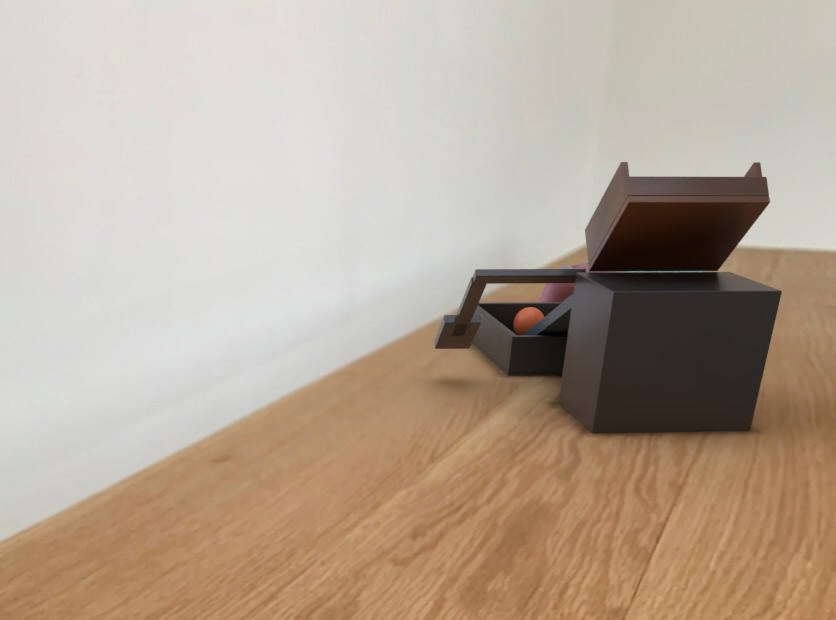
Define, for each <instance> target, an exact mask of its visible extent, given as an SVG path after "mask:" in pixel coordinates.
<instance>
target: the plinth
mask: <svg viewBox="0 0 836 620" xmlns="http://www.w3.org/2000/svg"><path fill="white" fill-rule="evenodd" d="M782 292H783V291H782V290H781V289H778V288H775V287H772V286H769V285H767V284H764V283H761V282H759V281H756V280H754V279H750V278H748V277H745V276H742V275H740V274H737V273H734V272H732V271H708V272H577V273H576V278H575V285H574V293H573V300H572V308H571V315H570V322H569V330H568V337H567V344H566V352H565V359H564V366H563V374H562V375H561V382H560V388H559V389H560V390H559V397H558V405H559V406H560V407H561V408H562V409H563V410H565V412H567V413H568V414H569V415H570V416H572V418H574V419H575V420H576V422H579V424H581V426H582V427H584V428H585V429H586V430H587V431H589V433H591V434H593V435H595V434H597V435H598V434H654V433H655V434H657V433H659V434H660V433H661V434H663V433H666V434H667V433H723V432H724V433H727V432H728V433H729V432H731V433H732V432H751V430H752V425H753V420H754V415H755V412H756V407H757V404H758V403H757V402H758V398H759V394H760V389H761V386H762V380H763V377H764V372H765V368H766V363H767V359H768V355H769V350H770V345H771V342H772V337H773V332H774V328H775V324H776V319H777V315H778V311H779V306H780V302H781V298H782Z"/></svg>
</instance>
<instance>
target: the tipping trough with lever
mask: <svg viewBox="0 0 836 620" xmlns="http://www.w3.org/2000/svg"><path fill="white" fill-rule="evenodd" d="M629 169H630V168H629V163H628V161H621V162H620V163H619V165H618V167H617V169H616V171H615V172H614V174H613V176H612V178H611V180H610V182H609V183H608V186H607V187H606V189H605V191H604V193H603V195H602V197H601V198H600V200H599V202H598V204H597V206H596V208H595V210H594V212H593V214H592V216H591V217H590V219H589V221H588V223H587V225H586V227H585V229H584V235H585V236H584V237H585V244H586V245H585V246H586V255H587V263H588V265H589V271H590V272H603V271H708V272H719V270H720V269H721V267H722V266H723V265H724V263H725V262H727V259H728V258H729V257H730V256H731V254H732V253H733V252H734V250H735V249H736V248H737V246H738V245H739V244H740V243H741V241H742V240H743V238H744V237H745V236H746V235H747V233H749V231H750V230H751V228H752V227H753V225H754V224H755V223H756V221H757V220H758V219H759V217H761V215H762V214H763V212H764V211H765V210H766V209H767V207H768V206H769V205H770V203H771V199H770V192H769V185H768V184H769V183H768V178H767V176H763V172H762V165H761V162H759V161H757V162H756V161H754V162H753V163H752V164H751V166H750V167H749V168H748V170H747V171H746V173H745V174H744V176H633V175H631V176H630V171H629ZM577 272H586V269H559V268H484V269H483V268H478V269H477V268H476V269H475V270H474V272H473V275H472V276H471V277H470V279H469V282H468V284H467V286H466V290H465V292H464V294H463V296H462V299H461V302H460V305H459V307H458V309H457V312H456V313H455V314H444V315H443V318H442V319H441V323H440V325H439V328H438V330H437V333H436V334H435V335H436V336H435V338H434V341H433V342H434V349H435V350H469V349H470V348H471V346H472V344H473V343H472V342H473V340H474V337H475V335H476V333H477V331H478V328H479V326H480V324H481V319H480V315H474V313H475V310H476V308H477V306H478V303H480V301H481V299H482V296H483V294H484V292H485V289H486V287H487V285H488V284H490V285H491V284H493V285H494V284H495V285H496V284H497V285H498V284H500V285H502V284H503V285H505V284H506V285H507V284H508V285H509V284H510V285H511V284H546V283H575V278H576V273H577Z"/></svg>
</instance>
